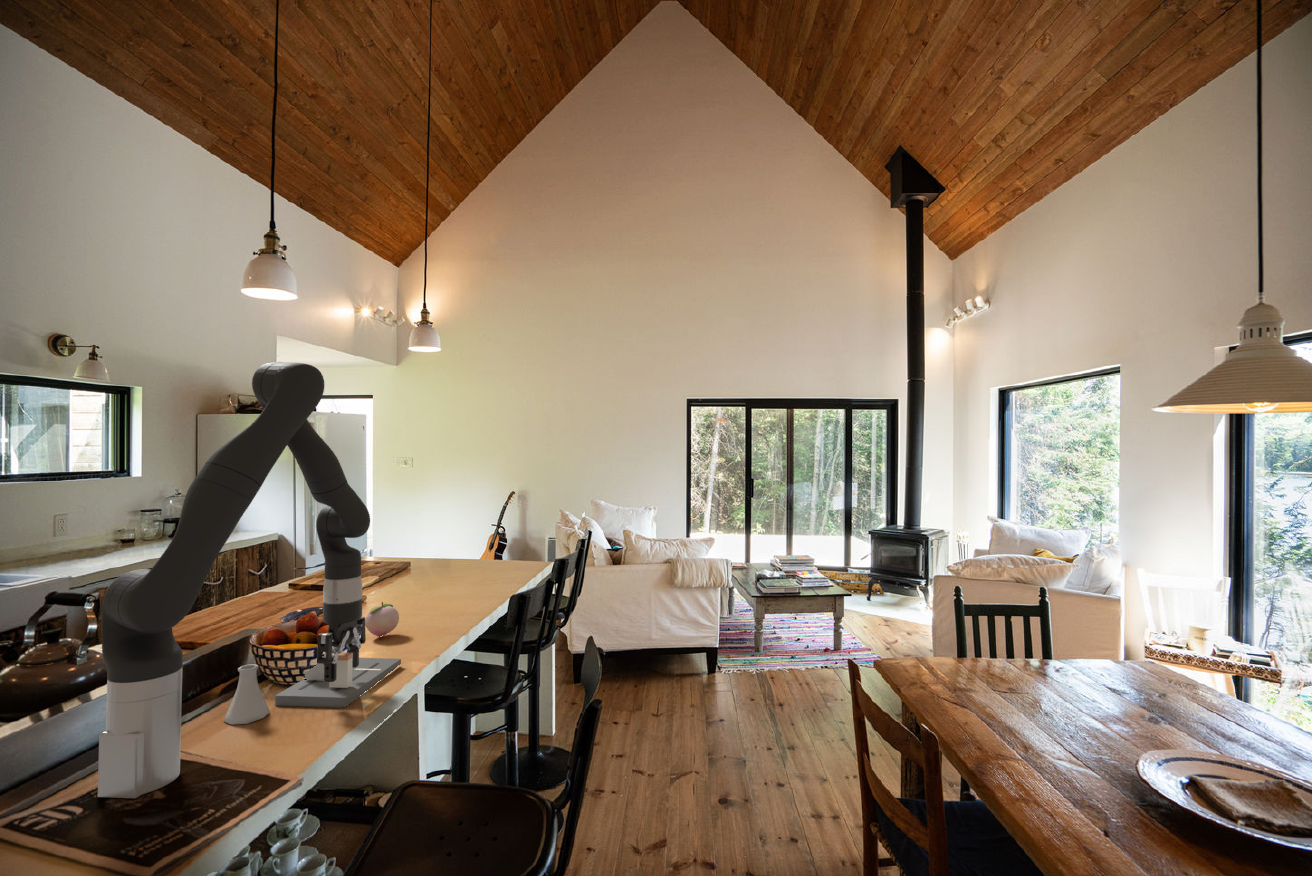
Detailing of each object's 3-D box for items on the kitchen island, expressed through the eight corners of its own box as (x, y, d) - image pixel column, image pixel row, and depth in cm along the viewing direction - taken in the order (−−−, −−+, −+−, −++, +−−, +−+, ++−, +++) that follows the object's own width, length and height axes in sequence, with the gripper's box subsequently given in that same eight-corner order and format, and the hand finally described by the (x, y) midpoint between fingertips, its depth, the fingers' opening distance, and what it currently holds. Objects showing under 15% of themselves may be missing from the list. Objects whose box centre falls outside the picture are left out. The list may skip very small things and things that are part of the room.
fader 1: (322, 680, 135) (322, 648, 135) (304, 679, 135) (305, 648, 135) (327, 676, 137) (328, 646, 137) (309, 676, 137) (310, 645, 137)
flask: (247, 727, 117) (248, 674, 117) (215, 724, 118) (216, 671, 119) (277, 712, 124) (278, 662, 124) (247, 708, 125) (248, 659, 126)
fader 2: (347, 688, 130) (348, 655, 131) (328, 687, 131) (329, 655, 131) (352, 684, 132) (352, 652, 132) (333, 684, 133) (334, 652, 133)
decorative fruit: (387, 643, 169) (388, 606, 169) (359, 642, 170) (360, 605, 170) (405, 633, 178) (405, 598, 179) (378, 632, 179) (379, 597, 179)
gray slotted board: (345, 707, 126) (345, 697, 126) (275, 705, 127) (275, 695, 127) (400, 667, 150) (401, 658, 150) (341, 665, 151) (341, 656, 151)
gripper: (340, 606, 125) (339, 687, 124) (377, 590, 139) (376, 662, 139) (305, 606, 125) (304, 686, 125) (344, 590, 139) (344, 662, 139)
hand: (342, 674), depth 132 cm, fingers open, 8 cm apart
